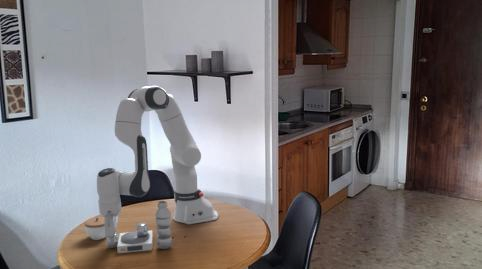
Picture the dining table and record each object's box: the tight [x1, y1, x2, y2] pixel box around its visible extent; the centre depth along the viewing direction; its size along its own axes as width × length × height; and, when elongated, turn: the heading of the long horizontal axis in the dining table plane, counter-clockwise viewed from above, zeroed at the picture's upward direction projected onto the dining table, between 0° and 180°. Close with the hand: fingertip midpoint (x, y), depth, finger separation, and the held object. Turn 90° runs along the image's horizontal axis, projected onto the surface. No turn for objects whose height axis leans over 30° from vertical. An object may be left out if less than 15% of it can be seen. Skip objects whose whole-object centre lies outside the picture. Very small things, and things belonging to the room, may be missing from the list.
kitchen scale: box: [116, 230, 154, 254], centre depth 182 cm, size 14×14×4 cm
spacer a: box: [106, 231, 119, 249], centre depth 179 cm, size 5×5×5 cm
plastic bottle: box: [154, 200, 173, 250], centre depth 177 cm, size 6×7×20 cm
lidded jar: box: [84, 216, 106, 241], centre depth 190 cm, size 11×11×9 cm
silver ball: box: [135, 222, 149, 238], centre depth 182 cm, size 5×5×5 cm
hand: (113, 238), depth 179 cm, fingers closed on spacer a, 5 cm apart
